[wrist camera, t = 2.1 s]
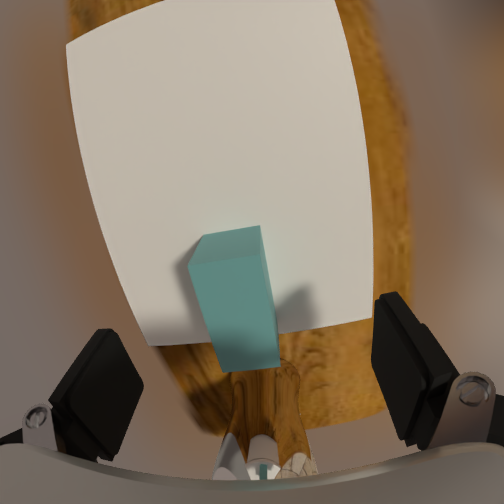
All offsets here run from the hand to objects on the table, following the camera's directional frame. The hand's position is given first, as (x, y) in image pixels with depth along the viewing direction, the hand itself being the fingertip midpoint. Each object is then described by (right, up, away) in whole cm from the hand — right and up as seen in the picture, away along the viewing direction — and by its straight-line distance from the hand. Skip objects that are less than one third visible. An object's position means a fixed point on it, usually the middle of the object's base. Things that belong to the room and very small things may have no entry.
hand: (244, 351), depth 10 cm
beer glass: (+1, -8, +14) cm, 16 cm away
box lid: (-1, +7, +2) cm, 7 cm away
